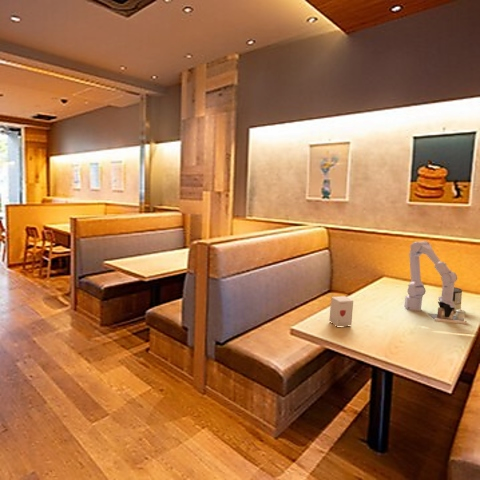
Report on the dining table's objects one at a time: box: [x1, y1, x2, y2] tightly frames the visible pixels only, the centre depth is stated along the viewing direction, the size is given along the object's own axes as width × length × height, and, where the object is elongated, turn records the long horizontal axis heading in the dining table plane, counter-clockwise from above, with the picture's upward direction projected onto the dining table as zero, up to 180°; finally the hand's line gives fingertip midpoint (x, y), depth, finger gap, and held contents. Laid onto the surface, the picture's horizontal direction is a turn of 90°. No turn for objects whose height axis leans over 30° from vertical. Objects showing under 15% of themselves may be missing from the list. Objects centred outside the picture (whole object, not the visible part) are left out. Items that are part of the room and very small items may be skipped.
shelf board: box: [428, 312, 468, 325], centre depth 214 cm, size 16×13×2 cm
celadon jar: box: [455, 308, 466, 321], centre depth 210 cm, size 5×5×7 cm
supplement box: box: [328, 295, 354, 327], centre depth 201 cm, size 9×9×15 cm
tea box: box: [436, 306, 455, 320], centre depth 212 cm, size 7×4×6 cm, turn 87°
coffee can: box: [452, 286, 463, 313], centre depth 229 cm, size 10×10×14 cm
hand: (444, 315), depth 212 cm, fingers closed on tea box, 4 cm apart
